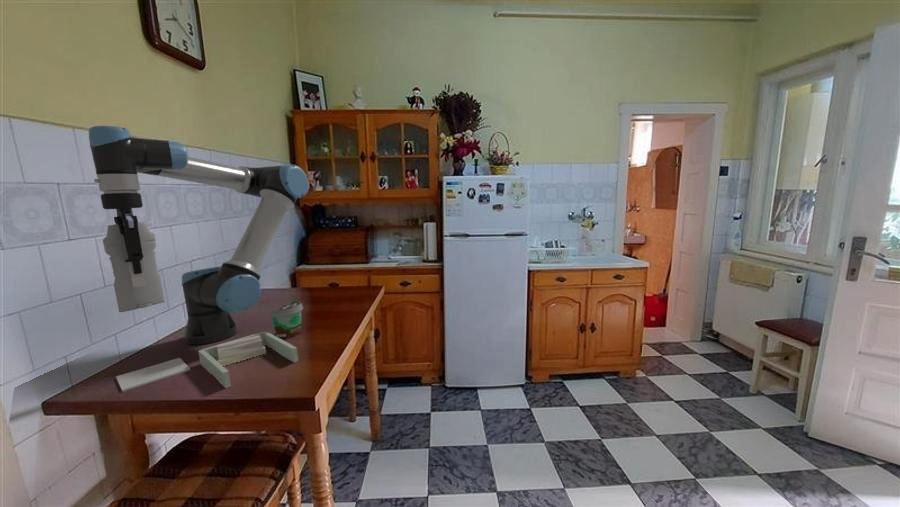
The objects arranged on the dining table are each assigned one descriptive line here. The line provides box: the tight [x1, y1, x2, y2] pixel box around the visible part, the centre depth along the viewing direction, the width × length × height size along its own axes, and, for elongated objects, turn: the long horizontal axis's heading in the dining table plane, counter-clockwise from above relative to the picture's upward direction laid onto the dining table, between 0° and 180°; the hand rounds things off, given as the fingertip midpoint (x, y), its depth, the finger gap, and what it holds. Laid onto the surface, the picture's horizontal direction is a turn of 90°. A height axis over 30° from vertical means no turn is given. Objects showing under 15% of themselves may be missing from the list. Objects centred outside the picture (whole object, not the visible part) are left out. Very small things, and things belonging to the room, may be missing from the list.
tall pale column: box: [102, 221, 165, 313], centre depth 94 cm, size 11×4×22 cm, turn 151°
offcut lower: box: [214, 345, 267, 367], centre depth 107 cm, size 6×12×2 cm, turn 132°
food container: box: [270, 299, 304, 340], centre depth 123 cm, size 12×6×10 cm, turn 168°
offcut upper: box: [216, 336, 264, 359], centre depth 107 cm, size 5×11×2 cm, turn 125°
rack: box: [198, 330, 299, 389], centre depth 103 cm, size 21×18×4 cm
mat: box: [115, 357, 191, 393], centre depth 99 cm, size 11×14×1 cm
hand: (138, 284), depth 95 cm, fingers closed on tall pale column, 3 cm apart
